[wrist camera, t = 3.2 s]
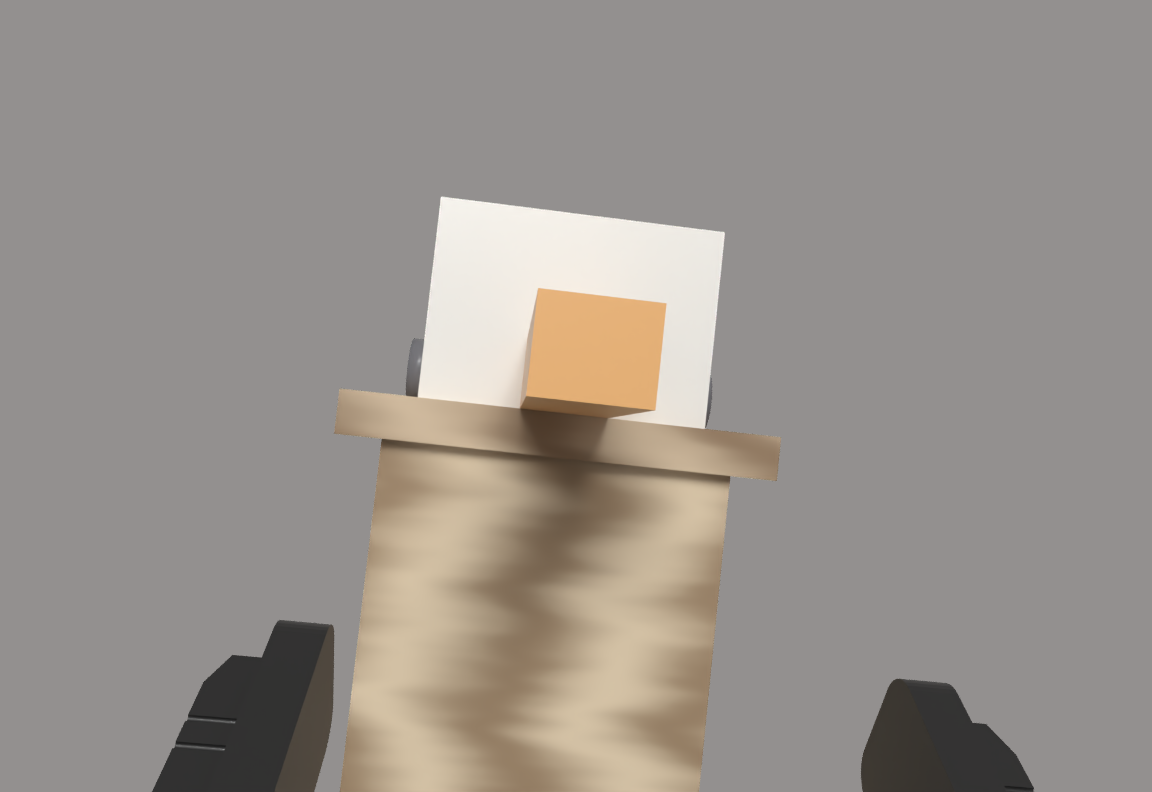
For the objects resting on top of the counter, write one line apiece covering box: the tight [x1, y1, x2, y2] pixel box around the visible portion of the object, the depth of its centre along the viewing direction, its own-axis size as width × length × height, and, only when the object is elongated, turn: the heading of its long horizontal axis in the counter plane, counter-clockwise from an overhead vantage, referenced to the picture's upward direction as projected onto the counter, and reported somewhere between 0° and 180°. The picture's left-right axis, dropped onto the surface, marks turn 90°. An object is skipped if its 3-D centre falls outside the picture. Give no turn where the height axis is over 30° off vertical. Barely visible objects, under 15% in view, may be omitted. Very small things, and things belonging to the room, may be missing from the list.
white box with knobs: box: [406, 197, 725, 429], centre depth 30 cm, size 12×16×7 cm
